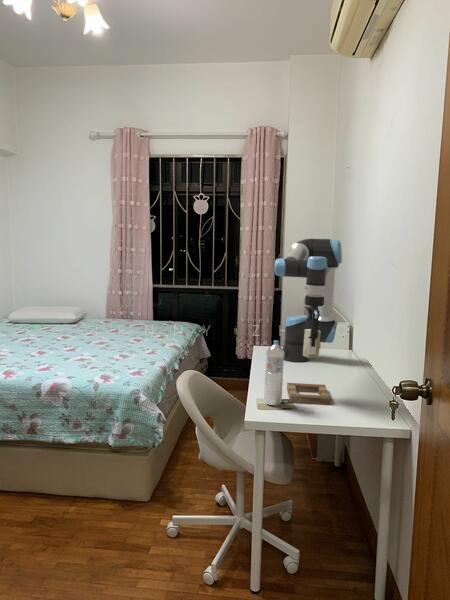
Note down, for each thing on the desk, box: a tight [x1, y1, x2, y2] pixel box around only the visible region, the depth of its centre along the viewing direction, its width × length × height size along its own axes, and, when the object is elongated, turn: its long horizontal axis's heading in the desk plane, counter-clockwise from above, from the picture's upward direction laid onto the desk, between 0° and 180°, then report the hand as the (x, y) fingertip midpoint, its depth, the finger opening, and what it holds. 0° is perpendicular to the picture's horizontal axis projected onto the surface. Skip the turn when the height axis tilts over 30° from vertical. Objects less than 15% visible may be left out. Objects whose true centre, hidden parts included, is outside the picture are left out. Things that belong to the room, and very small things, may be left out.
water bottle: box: [263, 340, 285, 407], centre depth 166 cm, size 7×7×25 cm
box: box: [303, 329, 321, 359], centre depth 174 cm, size 5×4×11 cm
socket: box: [286, 382, 333, 406], centre depth 177 cm, size 16×16×2 cm
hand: (310, 351), depth 174 cm, fingers closed on box, 6 cm apart
